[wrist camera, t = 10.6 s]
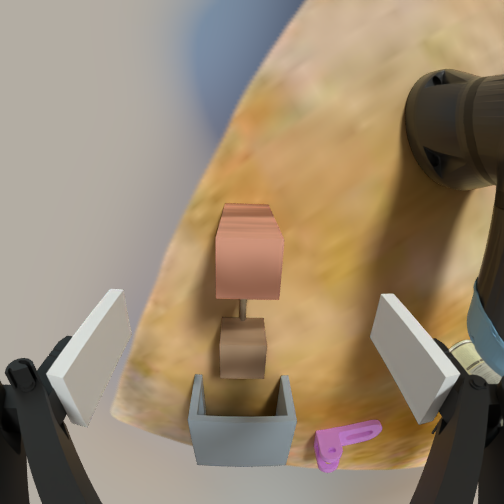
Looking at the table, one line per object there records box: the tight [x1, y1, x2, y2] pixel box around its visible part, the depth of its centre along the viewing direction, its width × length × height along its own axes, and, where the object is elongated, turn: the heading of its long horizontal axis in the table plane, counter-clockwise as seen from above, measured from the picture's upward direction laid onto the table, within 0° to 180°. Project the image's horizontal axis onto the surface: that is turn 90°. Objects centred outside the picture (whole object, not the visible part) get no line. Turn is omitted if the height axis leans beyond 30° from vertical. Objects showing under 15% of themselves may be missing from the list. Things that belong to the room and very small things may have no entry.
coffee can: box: [449, 340, 502, 384], centre depth 35 cm, size 10×10×14 cm
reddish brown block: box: [216, 203, 284, 379], centre depth 28 cm, size 19×5×12 cm, turn 178°
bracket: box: [314, 420, 382, 473], centre depth 42 cm, size 13×6×7 cm, turn 94°
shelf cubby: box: [188, 374, 297, 467], centre depth 37 cm, size 12×13×8 cm
